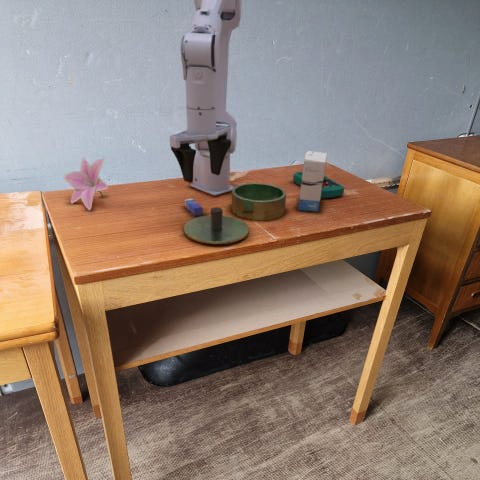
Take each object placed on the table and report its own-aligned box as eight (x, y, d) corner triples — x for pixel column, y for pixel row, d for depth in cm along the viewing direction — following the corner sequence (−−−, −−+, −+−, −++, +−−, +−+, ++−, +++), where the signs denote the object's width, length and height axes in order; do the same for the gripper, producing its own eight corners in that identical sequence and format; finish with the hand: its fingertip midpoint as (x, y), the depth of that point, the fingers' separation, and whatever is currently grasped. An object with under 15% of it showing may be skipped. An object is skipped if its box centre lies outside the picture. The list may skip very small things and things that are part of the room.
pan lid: (170, 231, 93) (169, 207, 90) (218, 215, 101) (218, 193, 98) (214, 253, 85) (214, 228, 82) (261, 234, 93) (263, 211, 90)
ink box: (318, 212, 104) (326, 161, 97) (297, 210, 105) (303, 159, 98) (320, 200, 111) (327, 151, 104) (300, 198, 111) (306, 149, 105)
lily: (67, 198, 109) (47, 169, 100) (109, 174, 110) (92, 143, 102) (87, 228, 104) (68, 200, 95) (130, 202, 105) (115, 172, 97)
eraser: (193, 206, 104) (192, 197, 103) (202, 215, 100) (202, 207, 99) (185, 207, 104) (184, 199, 103) (193, 216, 99) (193, 208, 98)
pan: (220, 208, 104) (220, 190, 101) (256, 196, 111) (257, 179, 109) (258, 225, 97) (260, 205, 94) (294, 211, 104) (296, 193, 102)
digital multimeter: (320, 200, 111) (321, 189, 109) (291, 181, 122) (292, 171, 120) (344, 197, 113) (346, 186, 112) (314, 179, 124) (315, 168, 123)
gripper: (185, 115, 79) (187, 190, 86) (242, 106, 87) (239, 175, 95) (161, 108, 82) (165, 181, 90) (218, 100, 91) (217, 167, 99)
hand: (202, 177), depth 93 cm, fingers open, 7 cm apart
